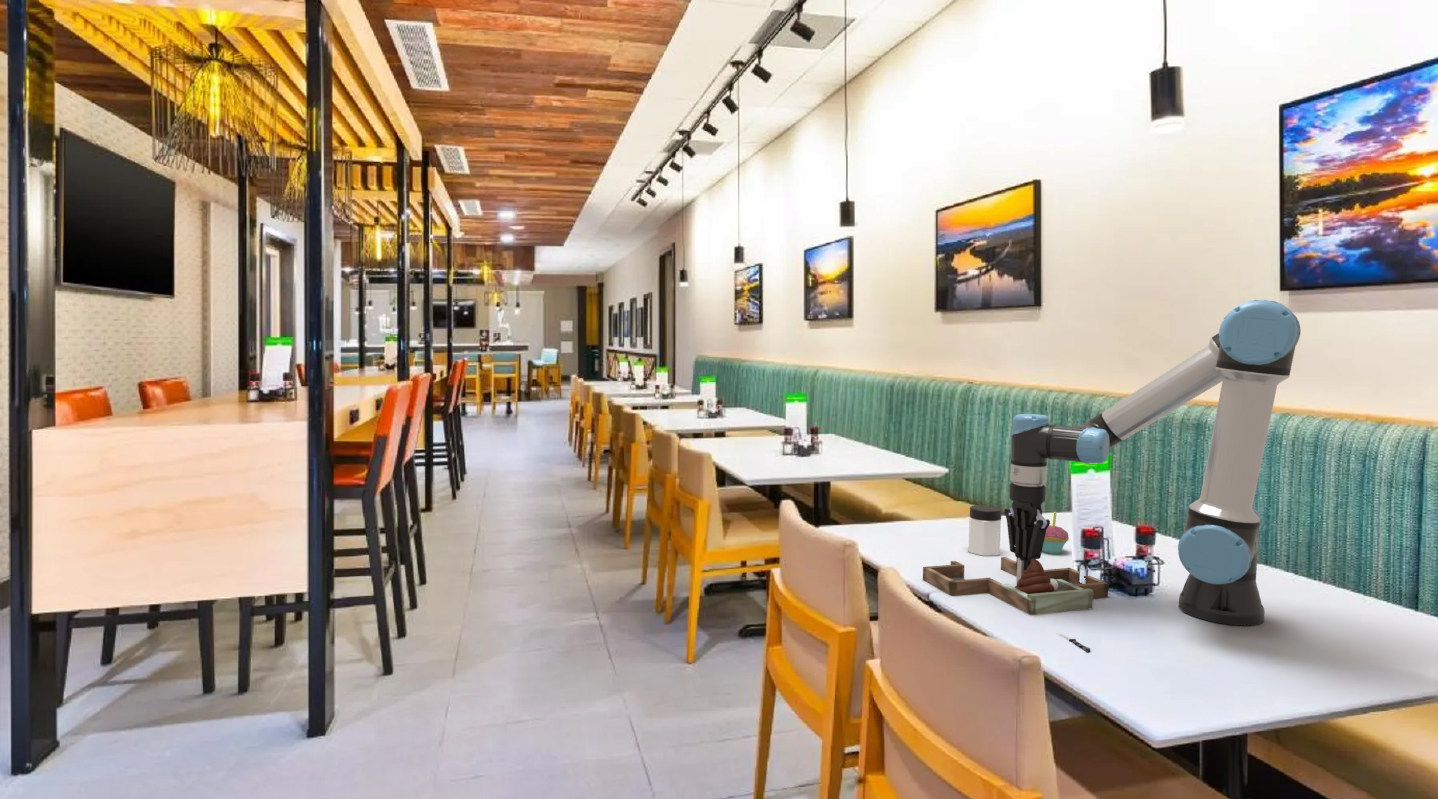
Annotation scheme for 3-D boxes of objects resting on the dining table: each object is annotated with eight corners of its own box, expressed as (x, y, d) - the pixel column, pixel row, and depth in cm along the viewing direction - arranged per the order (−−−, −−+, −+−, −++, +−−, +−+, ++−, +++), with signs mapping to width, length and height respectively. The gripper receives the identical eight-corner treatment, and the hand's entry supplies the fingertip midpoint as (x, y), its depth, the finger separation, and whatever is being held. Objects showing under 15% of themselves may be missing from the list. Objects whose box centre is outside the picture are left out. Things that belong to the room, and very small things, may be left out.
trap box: (1127, 605, 168) (1128, 587, 168) (991, 618, 159) (992, 599, 159) (1036, 566, 197) (1036, 550, 197) (916, 575, 188) (917, 559, 188)
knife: (1097, 654, 143) (1097, 648, 143) (1086, 655, 142) (1086, 649, 142) (1027, 618, 161) (1028, 613, 161) (1017, 618, 161) (1018, 614, 160)
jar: (1007, 553, 209) (1009, 508, 209) (990, 558, 204) (992, 513, 203) (977, 546, 216) (979, 503, 215) (960, 550, 211) (962, 507, 210)
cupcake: (1073, 556, 207) (1075, 511, 206) (1041, 555, 207) (1043, 511, 206) (1060, 547, 215) (1061, 504, 215) (1029, 547, 216) (1030, 504, 215)
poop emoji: (1003, 595, 174) (1005, 554, 174) (1036, 593, 176) (1038, 552, 176) (1032, 611, 165) (1034, 567, 164) (1067, 607, 167) (1069, 565, 166)
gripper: (995, 479, 179) (991, 579, 181) (1032, 489, 167) (1028, 597, 169) (1023, 477, 181) (1019, 577, 183) (1062, 488, 169) (1057, 594, 171)
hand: (1023, 586), depth 176 cm, fingers closed
